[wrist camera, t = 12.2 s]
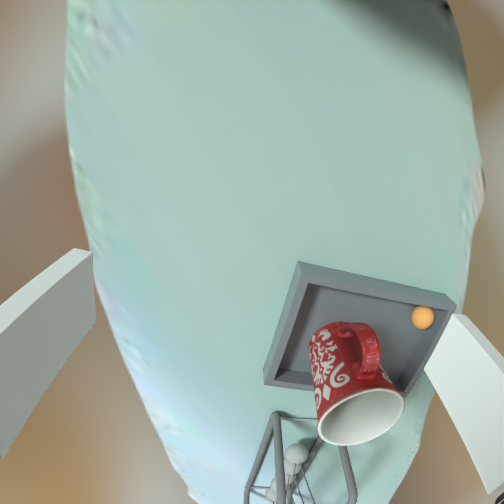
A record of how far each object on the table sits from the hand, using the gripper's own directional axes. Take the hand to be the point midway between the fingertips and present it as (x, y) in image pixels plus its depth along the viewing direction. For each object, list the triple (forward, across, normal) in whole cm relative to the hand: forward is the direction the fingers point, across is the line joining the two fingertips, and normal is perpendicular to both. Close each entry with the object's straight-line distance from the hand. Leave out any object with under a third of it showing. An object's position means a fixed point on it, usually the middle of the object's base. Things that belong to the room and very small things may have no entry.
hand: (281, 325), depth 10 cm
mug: (+24, +12, -15) cm, 31 cm away
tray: (+24, +16, -15) cm, 33 cm away
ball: (+24, +23, -11) cm, 35 cm away
